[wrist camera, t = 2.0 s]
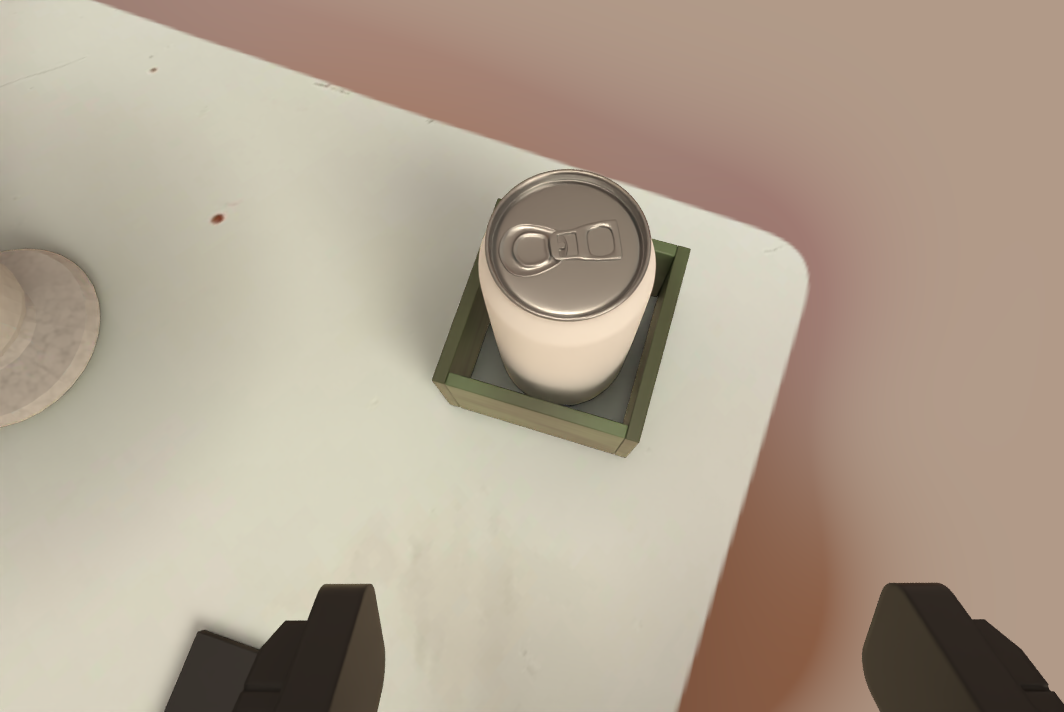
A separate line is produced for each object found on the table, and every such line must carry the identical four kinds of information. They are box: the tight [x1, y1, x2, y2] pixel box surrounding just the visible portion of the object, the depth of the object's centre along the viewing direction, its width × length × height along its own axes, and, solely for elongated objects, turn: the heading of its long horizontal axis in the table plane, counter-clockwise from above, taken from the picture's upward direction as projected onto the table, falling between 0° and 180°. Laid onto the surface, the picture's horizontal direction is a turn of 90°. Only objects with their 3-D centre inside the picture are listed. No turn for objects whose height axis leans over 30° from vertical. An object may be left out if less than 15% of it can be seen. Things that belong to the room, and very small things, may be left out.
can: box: [478, 169, 656, 405], centre depth 27 cm, size 6×6×12 cm
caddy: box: [432, 198, 690, 458], centre depth 31 cm, size 9×9×5 cm
